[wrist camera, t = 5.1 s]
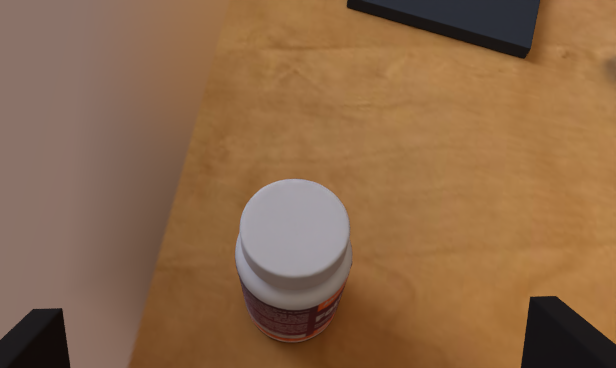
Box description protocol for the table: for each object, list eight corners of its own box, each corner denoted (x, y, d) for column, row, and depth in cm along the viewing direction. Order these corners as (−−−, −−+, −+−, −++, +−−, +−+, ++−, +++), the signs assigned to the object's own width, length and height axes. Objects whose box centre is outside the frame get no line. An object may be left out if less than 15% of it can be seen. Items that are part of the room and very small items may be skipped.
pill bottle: (329, 353, 22) (350, 302, 15) (234, 332, 22) (211, 272, 15) (344, 263, 24) (369, 182, 17) (259, 245, 25) (248, 158, 18)
